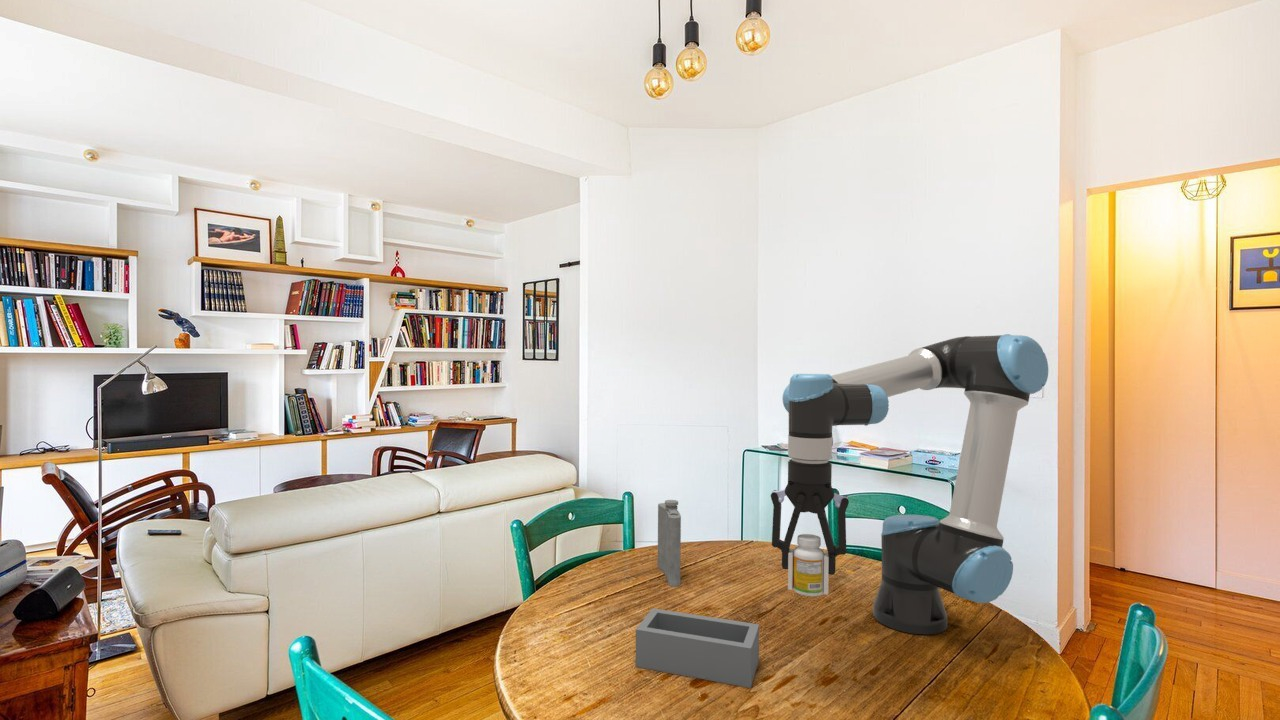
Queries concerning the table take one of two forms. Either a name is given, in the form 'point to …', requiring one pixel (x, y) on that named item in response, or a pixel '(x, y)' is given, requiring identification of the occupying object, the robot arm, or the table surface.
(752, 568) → the table surface
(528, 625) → the table surface
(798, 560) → the supplement bottle
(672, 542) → the hip flask
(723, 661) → the tray
